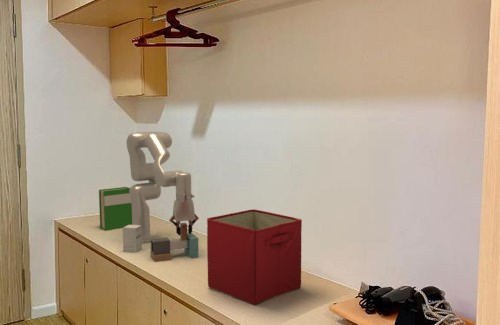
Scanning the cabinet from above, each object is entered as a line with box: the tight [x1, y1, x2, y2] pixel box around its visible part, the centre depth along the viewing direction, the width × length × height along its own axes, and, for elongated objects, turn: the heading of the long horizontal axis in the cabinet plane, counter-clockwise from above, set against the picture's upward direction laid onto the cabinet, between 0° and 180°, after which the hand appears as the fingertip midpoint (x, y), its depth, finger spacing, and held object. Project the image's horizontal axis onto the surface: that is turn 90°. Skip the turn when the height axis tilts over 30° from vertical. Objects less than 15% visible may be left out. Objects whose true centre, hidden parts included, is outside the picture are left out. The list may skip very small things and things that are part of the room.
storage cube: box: [206, 208, 303, 306], centre depth 207 cm, size 32×28×29 cm
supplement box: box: [122, 225, 143, 253], centre depth 265 cm, size 7×7×13 cm
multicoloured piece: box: [169, 222, 189, 251], centre depth 254 cm, size 4×14×12 cm, turn 113°
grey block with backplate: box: [149, 236, 172, 263], centre depth 251 cm, size 10×8×9 cm
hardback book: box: [98, 186, 132, 232], centre depth 316 cm, size 18×7×24 cm, turn 130°
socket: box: [183, 232, 199, 259], centre depth 257 cm, size 12×4×10 cm, turn 23°
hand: (184, 233), depth 255 cm, fingers open, 4 cm apart
